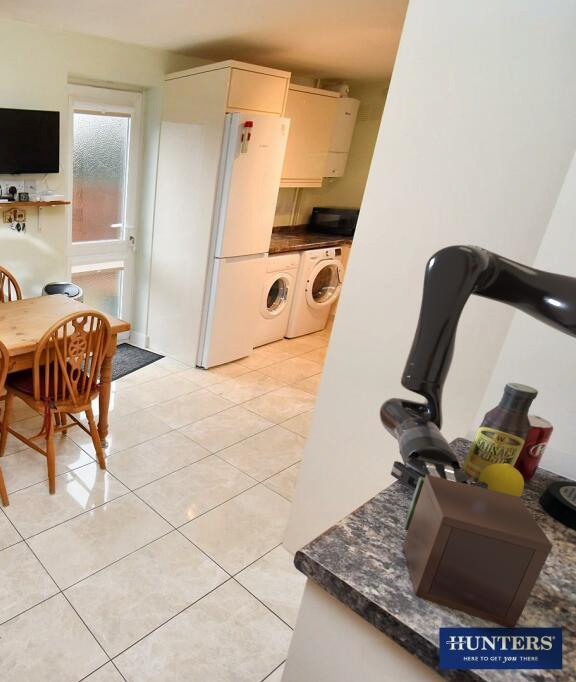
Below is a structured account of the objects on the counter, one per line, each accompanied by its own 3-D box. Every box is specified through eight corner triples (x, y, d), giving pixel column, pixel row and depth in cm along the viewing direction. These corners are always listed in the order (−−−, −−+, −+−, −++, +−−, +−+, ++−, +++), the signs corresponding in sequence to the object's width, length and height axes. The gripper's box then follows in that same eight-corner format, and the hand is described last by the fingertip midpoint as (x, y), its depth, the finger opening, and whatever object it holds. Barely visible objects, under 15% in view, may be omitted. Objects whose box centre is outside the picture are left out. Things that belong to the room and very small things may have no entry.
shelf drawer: (401, 522, 71) (417, 471, 68) (478, 544, 67) (499, 491, 64) (414, 570, 62) (434, 514, 59) (505, 600, 58) (531, 541, 55)
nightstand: (402, 546, 68) (426, 474, 64) (487, 572, 63) (519, 496, 59) (415, 595, 59) (443, 515, 55) (514, 629, 55) (553, 545, 51)
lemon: (511, 518, 74) (528, 477, 72) (469, 501, 78) (483, 462, 76) (516, 504, 78) (533, 465, 75) (475, 489, 82) (489, 451, 79)
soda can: (524, 469, 88) (546, 415, 84) (537, 489, 82) (562, 432, 78) (476, 458, 92) (495, 406, 88) (486, 476, 86) (506, 421, 82)
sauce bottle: (456, 480, 84) (491, 384, 78) (462, 468, 88) (495, 375, 82) (503, 497, 80) (544, 397, 73) (507, 483, 84) (545, 387, 77)
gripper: (387, 426, 82) (403, 475, 68) (480, 446, 77) (518, 504, 62) (377, 461, 85) (391, 515, 70) (466, 483, 79) (501, 547, 64)
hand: (451, 510), depth 66 cm, fingers closed
